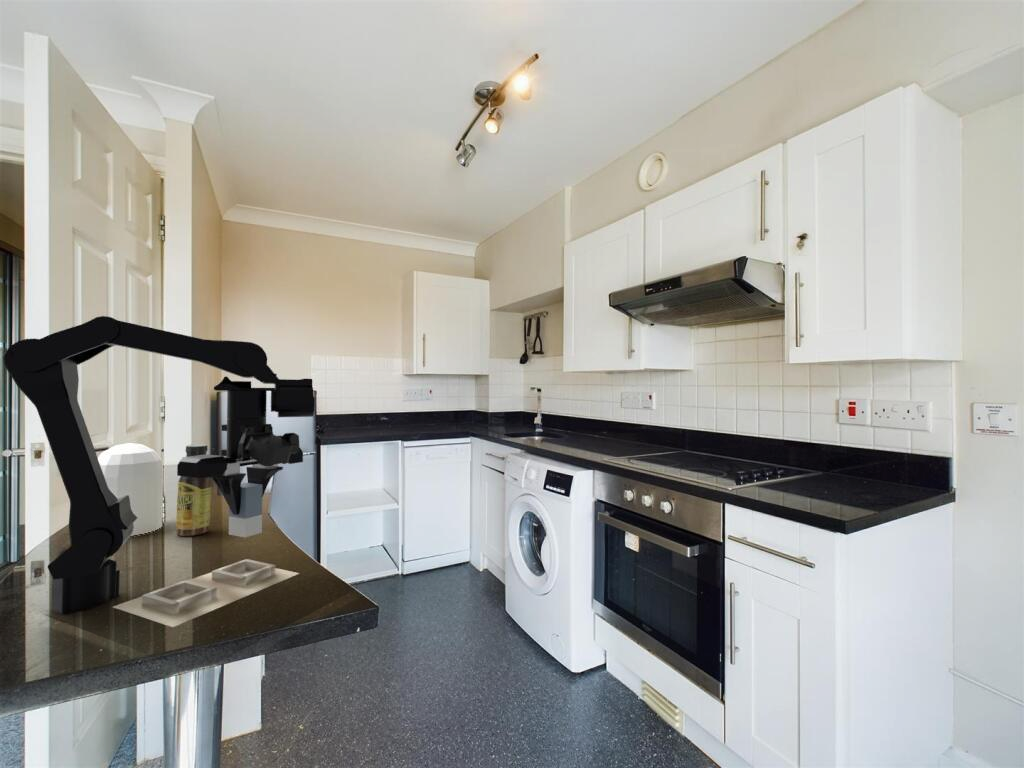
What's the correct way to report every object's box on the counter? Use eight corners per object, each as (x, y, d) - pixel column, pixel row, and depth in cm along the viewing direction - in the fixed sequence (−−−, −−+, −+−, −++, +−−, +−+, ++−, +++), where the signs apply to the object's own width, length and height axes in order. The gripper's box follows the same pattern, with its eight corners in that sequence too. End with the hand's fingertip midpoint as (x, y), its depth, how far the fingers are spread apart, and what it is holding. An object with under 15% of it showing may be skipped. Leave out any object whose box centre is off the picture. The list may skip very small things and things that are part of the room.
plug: (245, 537, 75) (245, 487, 75) (228, 534, 76) (229, 485, 77) (261, 532, 78) (262, 484, 78) (245, 529, 79) (246, 482, 79)
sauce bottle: (170, 535, 103) (171, 445, 103) (199, 527, 109) (201, 442, 109) (186, 539, 100) (188, 447, 100) (216, 531, 105) (217, 444, 106)
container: (100, 526, 109) (102, 441, 110) (169, 520, 115) (171, 439, 116) (75, 543, 97) (78, 447, 98) (154, 535, 103) (156, 444, 103)
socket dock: (172, 634, 60) (173, 615, 60) (112, 613, 66) (112, 596, 66) (299, 579, 79) (299, 564, 79) (243, 566, 84) (243, 552, 84)
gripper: (224, 422, 66) (222, 533, 65) (326, 416, 83) (325, 504, 82) (175, 420, 70) (174, 524, 70) (281, 415, 87) (280, 499, 87)
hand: (245, 512), depth 77 cm, fingers closed on plug, 3 cm apart
